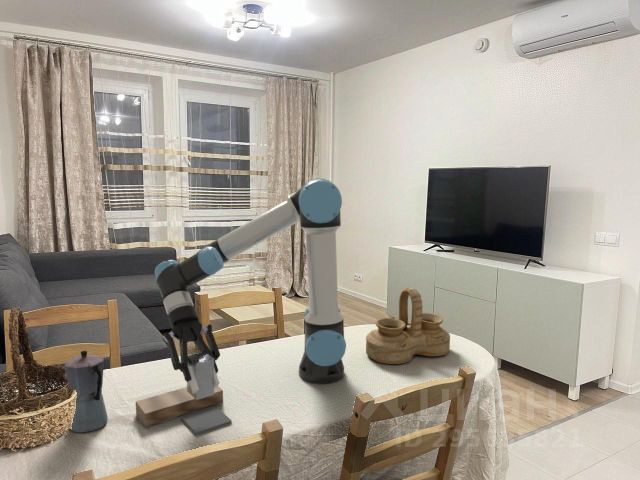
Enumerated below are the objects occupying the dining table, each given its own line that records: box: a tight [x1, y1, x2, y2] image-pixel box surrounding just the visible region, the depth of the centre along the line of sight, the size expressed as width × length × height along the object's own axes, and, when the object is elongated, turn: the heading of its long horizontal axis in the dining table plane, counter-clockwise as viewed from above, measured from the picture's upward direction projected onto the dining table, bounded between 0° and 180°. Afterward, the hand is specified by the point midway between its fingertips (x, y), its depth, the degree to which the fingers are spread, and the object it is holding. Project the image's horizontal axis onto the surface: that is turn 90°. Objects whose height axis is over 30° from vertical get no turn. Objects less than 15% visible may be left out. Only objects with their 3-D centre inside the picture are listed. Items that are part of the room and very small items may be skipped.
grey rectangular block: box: [186, 351, 214, 400], centre depth 123 cm, size 6×5×10 cm
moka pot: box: [64, 350, 109, 433], centre depth 121 cm, size 10×15×20 cm, turn 54°
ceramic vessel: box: [365, 287, 451, 365], centre depth 173 cm, size 34×18×25 cm, turn 117°
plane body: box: [135, 385, 224, 429], centre depth 131 cm, size 22×8×4 cm, turn 128°
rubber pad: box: [180, 405, 233, 436], centre depth 125 cm, size 10×10×1 cm
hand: (206, 388), depth 121 cm, fingers closed on grey rectangular block, 5 cm apart
